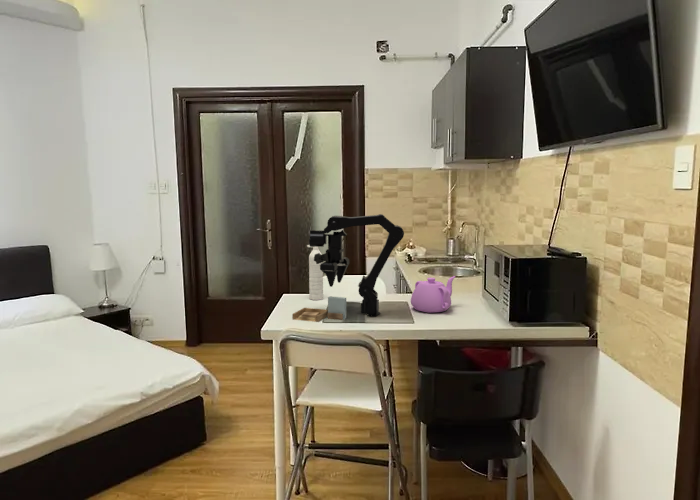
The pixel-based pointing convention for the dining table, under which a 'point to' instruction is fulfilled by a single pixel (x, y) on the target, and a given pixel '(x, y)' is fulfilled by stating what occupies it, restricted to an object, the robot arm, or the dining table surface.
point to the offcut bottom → (307, 318)
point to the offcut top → (310, 314)
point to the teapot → (432, 295)
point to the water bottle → (315, 277)
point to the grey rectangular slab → (337, 305)
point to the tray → (322, 312)
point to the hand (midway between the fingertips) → (335, 284)
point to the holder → (336, 316)
